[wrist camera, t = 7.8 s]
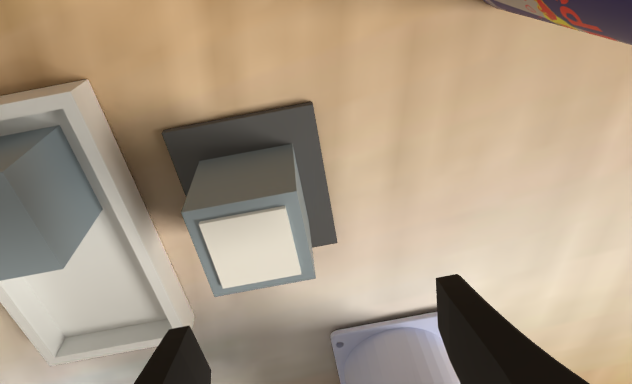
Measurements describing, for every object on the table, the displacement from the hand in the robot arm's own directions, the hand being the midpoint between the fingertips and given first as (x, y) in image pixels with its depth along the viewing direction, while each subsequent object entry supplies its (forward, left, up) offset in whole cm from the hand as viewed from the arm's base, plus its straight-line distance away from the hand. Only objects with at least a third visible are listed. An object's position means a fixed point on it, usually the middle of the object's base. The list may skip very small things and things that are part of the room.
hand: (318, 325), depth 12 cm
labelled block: (-1, +2, -10) cm, 10 cm away
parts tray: (-1, +12, -10) cm, 16 cm away
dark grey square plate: (-1, +2, -10) cm, 10 cm away
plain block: (+2, +12, -10) cm, 16 cm away
